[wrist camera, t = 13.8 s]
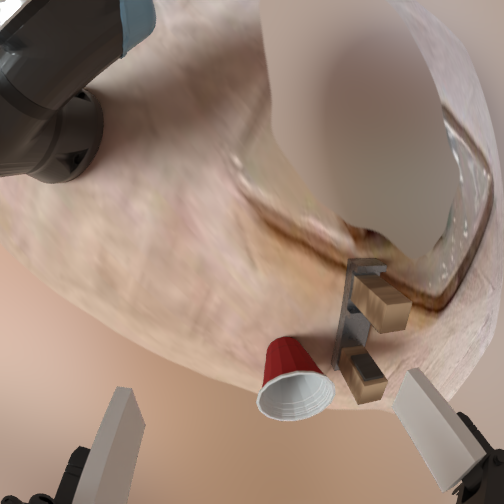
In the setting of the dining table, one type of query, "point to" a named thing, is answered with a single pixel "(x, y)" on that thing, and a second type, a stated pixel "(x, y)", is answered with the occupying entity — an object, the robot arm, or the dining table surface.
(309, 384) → the plastic cup
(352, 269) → the rail
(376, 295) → the tan wooden block
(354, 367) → the block
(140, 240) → the dining table surface
